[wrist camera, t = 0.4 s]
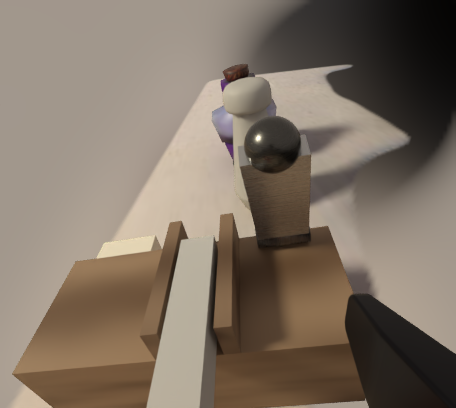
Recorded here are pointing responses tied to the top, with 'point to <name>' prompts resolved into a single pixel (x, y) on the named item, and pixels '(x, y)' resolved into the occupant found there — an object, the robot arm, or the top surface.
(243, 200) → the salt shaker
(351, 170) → the top surface
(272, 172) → the lever
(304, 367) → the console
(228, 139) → the potion bottle
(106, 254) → the cream button
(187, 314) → the red plunger
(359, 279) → the top surface
